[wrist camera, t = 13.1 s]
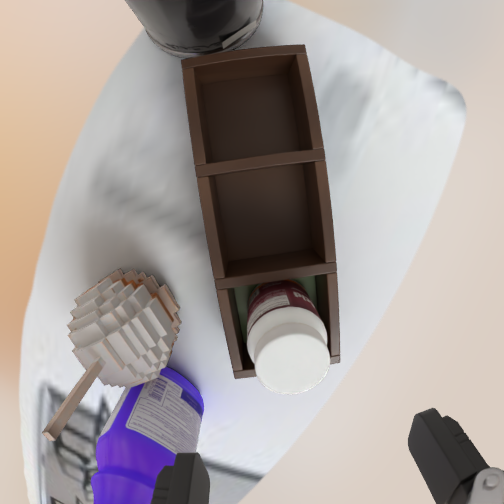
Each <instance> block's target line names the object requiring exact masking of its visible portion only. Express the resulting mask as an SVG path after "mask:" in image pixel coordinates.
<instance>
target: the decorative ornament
mask: <svg viewBox="0 0 504 504" xmlns="http://www.w3.org/2000/svg"><path fill="white" fill-rule="evenodd" d="M98 283H99V284H97V285H95V286H94V287H92V288H90V289H89V290H87V291H86V292H85V293H83V294H81V295H80V296H79V297H77V298H76V299H75V302H76V304H77V305H78V306H77V307H76V308H74V309H73V310H72V311H71V312H70V313H71V314H72V316H73V320H72V321H71V322H70V323H69V324H68V325H67V326H68V327H69V329H70V331H71V333H70V334H69V335H68V337H69V338H70V340H71V341H72V342H73V344H74V345H75V348H74V349H73V350H72V352H73V353H74V354H75V356H76V357H77V359H78V360H79V361H80V363H81V364H82V365H83V367H84V368H85V369H86V372H85V373H84V375H83V376H82V377H81V379H80V380H79V381H78V383H77V384H76V385H75V387H74V388H73V389H72V391H71V392H70V394H69V395H68V396H67V398H66V399H65V401H64V402H63V403H62V405H61V406H60V408H59V409H58V410H57V412H56V413H55V415H54V416H53V418H52V419H51V421H50V422H49V423H48V425H47V426H46V428H45V429H44V431H43V432H42V434H43V435H44V436H45V437H46V438H47V439H48V440H49V441H54V440H56V439H57V437H58V436H59V434H60V432H61V431H62V429H63V428H64V426H65V424H66V423H67V421H68V420H69V418H70V417H71V415H72V414H73V412H74V410H75V409H76V407H77V406H78V404H79V403H80V401H81V400H82V398H83V397H84V395H85V394H86V392H87V391H88V389H89V388H90V386H91V385H92V383H93V382H94V380H95V379H96V377H98V378H99V379H100V380H101V382H102V383H103V384H104V386H105V385H108V384H110V385H111V387H113V386H116V385H118V386H119V387H123V386H125V387H126V389H128V388H131V387H134V386H137V385H139V384H142V383H145V382H148V381H150V380H153V379H155V378H158V376H159V374H160V371H161V369H163V368H165V367H166V365H167V363H168V360H169V358H170V355H171V353H172V350H171V349H172V347H173V344H174V342H175V341H177V338H178V337H177V336H176V334H177V333H179V330H180V329H179V328H178V326H179V325H180V324H181V322H182V321H181V320H180V318H179V317H178V315H177V314H176V312H177V311H179V309H180V307H179V305H178V303H177V302H176V300H175V298H174V297H173V295H172V294H171V292H170V290H169V289H168V287H167V285H166V284H165V285H163V286H161V287H160V286H159V284H158V283H157V281H156V279H155V278H154V276H153V275H151V276H149V277H146V275H145V273H144V272H142V273H140V274H137V272H136V270H135V269H133V270H131V271H129V272H128V273H126V274H123V272H122V270H121V269H119V270H117V271H115V272H114V273H112V274H110V275H109V276H107V277H105V278H104V279H102V280H100V281H99V282H98Z"/></svg>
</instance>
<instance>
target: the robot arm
mask: <svg viewBox="0 0 504 504" xmlns="http://www.w3.org/2000/svg"><path fill="white" fill-rule="evenodd" d="M125 1H126V3H127V4H128V5H129V7H130V8H131V9H132V11H133V12H134V13H135V15H136V16H137V18H138V19H139V20H140V22H141V23H142V25H143V26H144V27H145V29H146V32H147V34H148V35H149V37H150V38H151V40H152V41H153V42H154V43H155V44H156V45H157V46H158V47H159V48H160V49H162V50H163V51H165V52H167V53H169V54H171V55H174V56H177V57H182V58H193V57H198V56H203V55H209V54H215V53H221V52H227V51H231V50H233V49H235V48H237V47H238V46H240V45H241V44H243V43H244V42H245V41H247V40H248V39H249V38H250V37H251V36H252V35H253V33H254V32H255V31H256V29H257V28H258V26H259V24H260V21H261V18H262V12H263V0H125ZM408 446H409V450H410V452H411V454H412V456H413V458H414V460H415V462H416V464H417V466H418V468H419V470H420V472H421V474H422V476H423V478H424V480H425V481H426V484H427V486H428V488H429V490H430V492H431V494H432V496H433V498H434V500H435V502H436V504H504V471H502V470H501V469H499V468H494V467H490V466H488V465H487V463H486V462H485V460H484V459H483V457H482V456H481V455H480V453H479V452H478V450H477V449H476V447H475V446H474V444H473V443H472V442H471V440H469V437H468V436H467V435H466V433H464V431H463V429H462V428H461V426H460V425H459V424H458V422H456V421H455V420H453V419H452V418H450V417H449V416H445V417H443V418H442V417H441V415H440V414H439V413H438V411H437V410H436V409H435V408H431V409H428V410H426V411H423V412H420V413H418V414H416V415H415V416H414V419H413V423H412V427H411V430H410V434H409V437H408ZM209 492H210V479H209V475H208V472H207V470H206V468H205V466H204V463H203V461H202V459H201V457H200V455H199V453H197V452H196V453H177V454H176V457H175V462H174V466H167V465H165V466H164V467H163V469H162V470H161V471H160V473H159V474H158V475H157V479H156V483H155V489H154V491H153V495H152V496H153V498H152V500H151V504H209Z"/></svg>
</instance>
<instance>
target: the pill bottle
mask: <svg viewBox="0 0 504 504" xmlns="http://www.w3.org/2000/svg"><path fill="white" fill-rule="evenodd" d="M247 350H248V353H249V355H250V358H251V360H252V361H253V363H254V364H255V372H256V375H257V377H258V379H259V381H260V382H261V384H262V385H263V386H265V387H266V388H267V389H269V390H271V391H273V392H276V393H279V394H287V395H289V394H298V393H302V392H305V391H308V390H310V389H312V388H313V387H315V386H316V385H317V384H319V383H320V382H321V381H322V380H323V378H324V377H325V376H326V374H327V372H328V370H329V366H330V354H329V351H328V348H327V332H326V329H325V327H324V323H323V321H322V320H321V318H320V316H319V314H318V312H317V310H316V308H315V306H314V304H313V303H312V301H311V299H310V297H309V295H308V293H307V292H306V290H305V289H304V287H303V286H302V285H301V284H300V283H298V282H297V281H295V280H293V279H288V280H282V281H275V282H268V283H261V284H258V285H257V286H256V287H255V288H254V290H253V291H252V293H251V295H250V297H249V300H248V306H247Z"/></svg>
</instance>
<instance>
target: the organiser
mask: <svg viewBox="0 0 504 504" xmlns="http://www.w3.org/2000/svg"><path fill="white" fill-rule="evenodd" d="M181 65H182V73H183V82H184V90H185V98H186V106H187V114H188V121H189V129H190V136H191V143H192V150H193V157H194V164H195V171H196V177H198V178H197V183H198V189H199V196H200V202H201V208H202V214H203V220H204V226H205V232H206V237H207V243H208V249H209V254H210V260H211V265H212V270H213V276H214V279H215V280H214V281H215V286H216V289H217V297H218V302H219V307H220V312H221V317H222V322H223V326H224V331H225V336H226V341H227V345H228V350H229V355H230V359H231V364H232V368H233V373H234V378H235V379H238V378H247V377H256V376H257V375H256V372H255V364H254V363H253V361H252V360H251V358H250V355H249V353H248V350H247V306H248V300H249V297H250V295H251V293H252V291H253V290H254V288H255V287H256V286H257V285H258V284H261V283H268V282H275V281H282V280H288V279H293V280H295V281H297V282H298V283H300V284H301V285H302V286H303V287H304V289H305V290H306V292H307V293H308V295H309V297H310V299H311V301H312V303H313V304H314V306H315V308H316V310H317V312H318V314H319V316H320V318H321V320H322V321H323V323H324V327H325V329H326V332H327V348H328V351H329V354H330V364H335V363H340V328H339V301H338V282H337V267H336V253H335V240H334V229H333V219H332V209H331V200H330V191H329V183H328V175H327V167H326V161H325V152H324V149H323V148H324V146H323V139H322V133H321V127H320V121H319V115H318V109H317V103H316V98H315V92H314V87H313V82H312V77H311V72H310V67H309V62H308V58H307V53H306V48H305V45H284V46H271V47H260V48H250V49H242V50H234V51H227V52H221V53H215V54H209V55H203V56H198V57H193V58H188V59H183V60H181Z"/></svg>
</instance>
